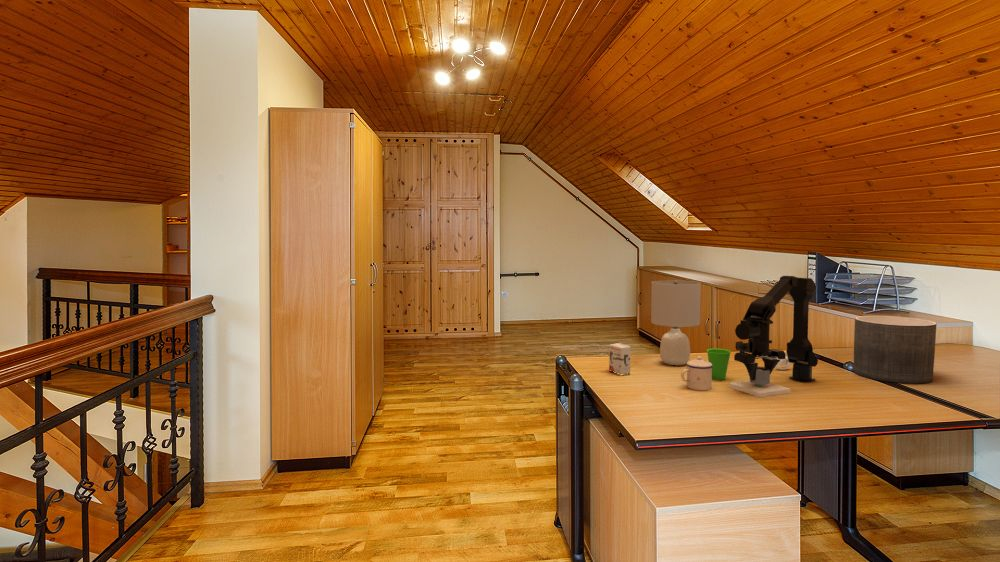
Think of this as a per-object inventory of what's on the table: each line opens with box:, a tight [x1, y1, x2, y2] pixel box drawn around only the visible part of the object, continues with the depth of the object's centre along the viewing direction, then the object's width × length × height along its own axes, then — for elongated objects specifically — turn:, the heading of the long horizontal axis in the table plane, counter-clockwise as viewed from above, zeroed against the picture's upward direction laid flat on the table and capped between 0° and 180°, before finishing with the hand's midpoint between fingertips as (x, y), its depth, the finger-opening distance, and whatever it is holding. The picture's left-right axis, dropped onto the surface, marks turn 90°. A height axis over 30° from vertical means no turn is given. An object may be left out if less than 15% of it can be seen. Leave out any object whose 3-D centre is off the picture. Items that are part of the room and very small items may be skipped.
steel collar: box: [749, 365, 771, 385], centre depth 187 cm, size 6×6×5 cm
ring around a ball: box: [775, 350, 792, 371], centre depth 215 cm, size 8×6×8 cm
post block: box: [728, 369, 791, 398], centre depth 187 cm, size 14×14×8 cm
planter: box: [852, 315, 937, 385], centre depth 203 cm, size 25×25×22 cm
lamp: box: [650, 280, 702, 367], centre depth 226 cm, size 20×20×37 cm
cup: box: [705, 348, 732, 381], centre depth 203 cm, size 9×9×11 cm
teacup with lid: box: [680, 355, 713, 391], centre depth 191 cm, size 12×9×12 cm
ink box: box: [608, 342, 632, 374], centre depth 213 cm, size 9×5×12 cm, turn 25°
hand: (759, 379), depth 187 cm, fingers closed on steel collar, 6 cm apart
